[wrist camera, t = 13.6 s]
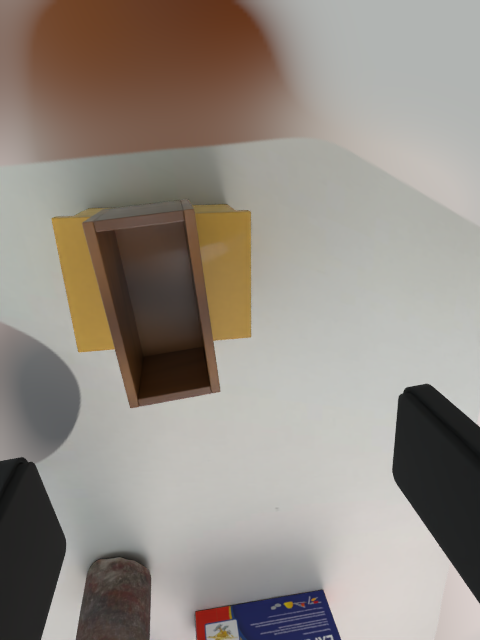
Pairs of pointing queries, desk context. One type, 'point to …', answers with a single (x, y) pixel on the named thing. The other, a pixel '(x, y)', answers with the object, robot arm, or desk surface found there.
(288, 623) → the toy box
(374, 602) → the desk surface
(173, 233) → the wooden cubby shelf
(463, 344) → the desk surface
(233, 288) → the box
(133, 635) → the candle
